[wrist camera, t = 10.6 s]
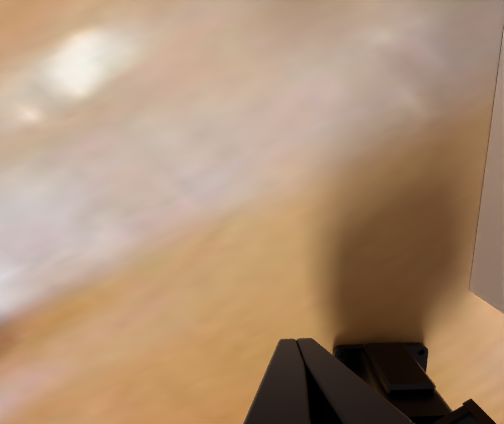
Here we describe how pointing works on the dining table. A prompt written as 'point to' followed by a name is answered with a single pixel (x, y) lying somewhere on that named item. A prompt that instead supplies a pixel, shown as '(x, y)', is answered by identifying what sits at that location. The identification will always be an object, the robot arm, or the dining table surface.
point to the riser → (492, 210)
